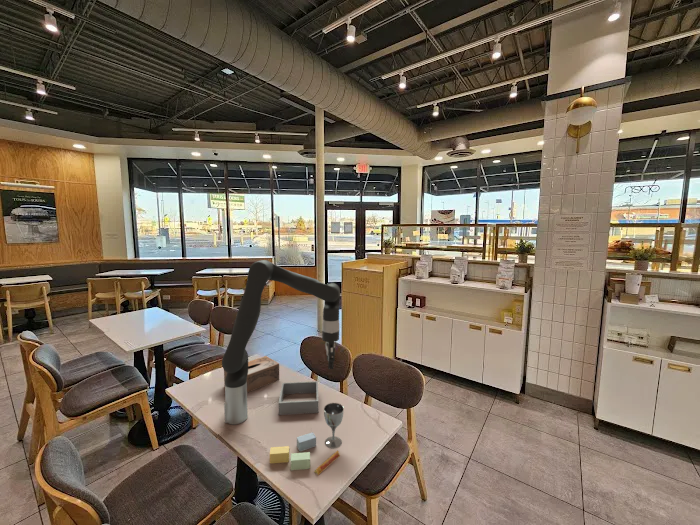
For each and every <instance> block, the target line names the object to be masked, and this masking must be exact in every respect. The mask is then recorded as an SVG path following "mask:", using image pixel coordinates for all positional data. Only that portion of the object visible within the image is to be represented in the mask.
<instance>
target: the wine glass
mask: <svg viewBox="0 0 700 525" xmlns="http://www.w3.org/2000/svg"><path fill="white" fill-rule="evenodd" d="M344 413H345V412H344V406H343V405H342V404H341V403H339V402H329V403H327V404H326V405H324V407H323V418H324V420H325V421H324V422H325V423H326V425H327V426H328V427H329V428H330V429H331V432H332V436H329V437H327V438H326V439H325V440H324V445H325V446H326V447H327V448H328V449H333V450H335V449H338V448H340V447H341V446H342V444H343V441H342V439H341V438H340V437H339V436H335V433H336V430H337V428H338V427H339V426H340V425H341V424H342V422H343V418H344Z"/></svg>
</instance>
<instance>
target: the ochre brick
mask: <svg viewBox="0 0 700 525" xmlns="http://www.w3.org/2000/svg"><path fill="white" fill-rule="evenodd" d="M289 462H290V445H287V446H286V445H285V446H271V447H270V450H269V464H281V463H289Z"/></svg>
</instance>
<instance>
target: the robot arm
mask: <svg viewBox="0 0 700 525" xmlns="http://www.w3.org/2000/svg"><path fill="white" fill-rule="evenodd" d="M268 281H272V282H273V281H274V282H278V283H281V284H284V285H286V286H288V287H291V288H292V289H294V290H296V291H298V292H301V293H305V294H308V295H312V296H314V297H316V298H318V299H320V300H322V301H324V305H323V309H322V327H321V340H322V341H324V342H325V350H326V361H328V363H327V364H328V368H327V369H328V370H333V369H334V367H335V366H334V365H335V363H334V362H335V361H336V359H335V358H336V357H335V356H336V344H335V343H336V342H337V341H339V340H340V298H341V288H340V286H339V285H338V284H337V283H334V282H331V283H328V284H325V283H324V282H321V281H320V280H319V279H317V278H314V277H311V276H307V275H303V274H299V273H297V272H295V271H294V272H293V271H291V270H288V269H286V268H283V267H281V266H279V265H277V264H275V263H274V262H271V261H269V260H267V259H262V260H258V261H254V262H253V263H252V264H251V265H250V267H249V269H248V272H247V279H246V284H245V288H244V292H243V295H242V298H241V301H240V304H239V307H238V310H237V313H236V316H235V320H234V324H233V327H232V331H231V335H230V340H229V342H228V345H227V348H226V349H225V352H224V355H223V356H222V359H221V366H222V368H223V371H224V370H225V371H226V372H227V375H226V378H225V386H224V387H225V388H224V389H225V391H224V392H225V393H224V394H225V399H224V404H223V408H224V423H226V424H229V425H239V424H242V423H243V422H245V421H246V420H247V418H248V392H247V375H248V362H249V354H248V351H247V350H246V348H247V344H248V342H249V341H250V339H251V336H253V333H254V331H255V329H256V326H257V324H258V321H259V319H260V314H261V309H262V301H261V300H262V294H263V291H264V289H265V287H266V284H267V282H268Z"/></svg>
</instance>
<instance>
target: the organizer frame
mask: <svg viewBox="0 0 700 525" xmlns="http://www.w3.org/2000/svg"><path fill="white" fill-rule="evenodd" d="M295 393H299V394H315V397H316V399H311V400H310V399H309V400H294V401H293V400H291V401H290V400H289V401H284V397H285V396H284V395H295ZM304 413H305V414H318V413H319V381H318V380H317V381H314V380H313V381H293V382H291V381H290V382H282V383H281V388H280V393H279V399H278V415H279V416H284V415H286V416H287V415H303V414H304Z"/></svg>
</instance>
